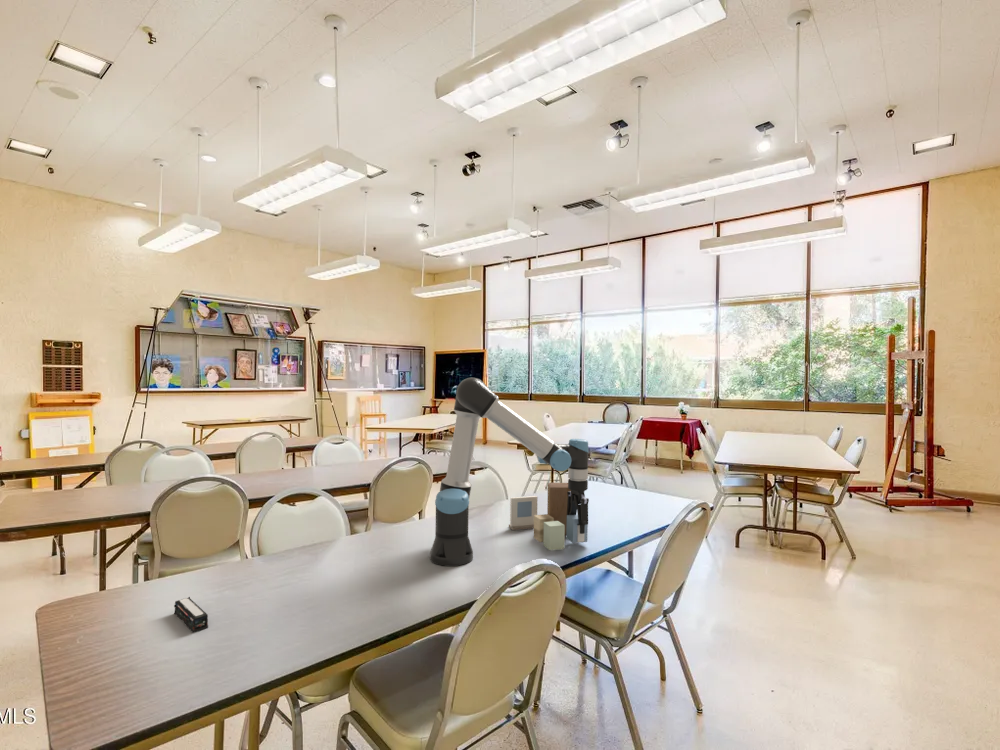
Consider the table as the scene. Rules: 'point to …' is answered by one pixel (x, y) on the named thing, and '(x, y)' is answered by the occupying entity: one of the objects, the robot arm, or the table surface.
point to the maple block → (540, 526)
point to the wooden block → (558, 502)
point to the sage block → (554, 535)
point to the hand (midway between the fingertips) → (576, 538)
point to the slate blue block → (574, 529)
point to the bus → (191, 614)
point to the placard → (522, 512)
